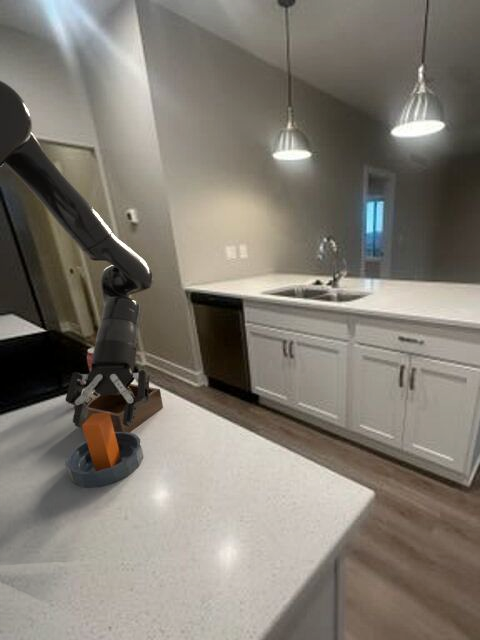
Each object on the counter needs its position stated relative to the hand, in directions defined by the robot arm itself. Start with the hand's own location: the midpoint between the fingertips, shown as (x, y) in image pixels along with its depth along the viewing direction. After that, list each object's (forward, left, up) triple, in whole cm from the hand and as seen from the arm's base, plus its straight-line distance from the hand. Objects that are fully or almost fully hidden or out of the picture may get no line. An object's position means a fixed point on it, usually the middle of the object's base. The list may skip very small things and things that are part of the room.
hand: (103, 426), depth 64 cm
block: (+1, -1, -7) cm, 8 cm away
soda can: (-23, +23, -8) cm, 33 cm away
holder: (-9, +13, -8) cm, 18 cm away
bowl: (+1, -1, -8) cm, 8 cm away
